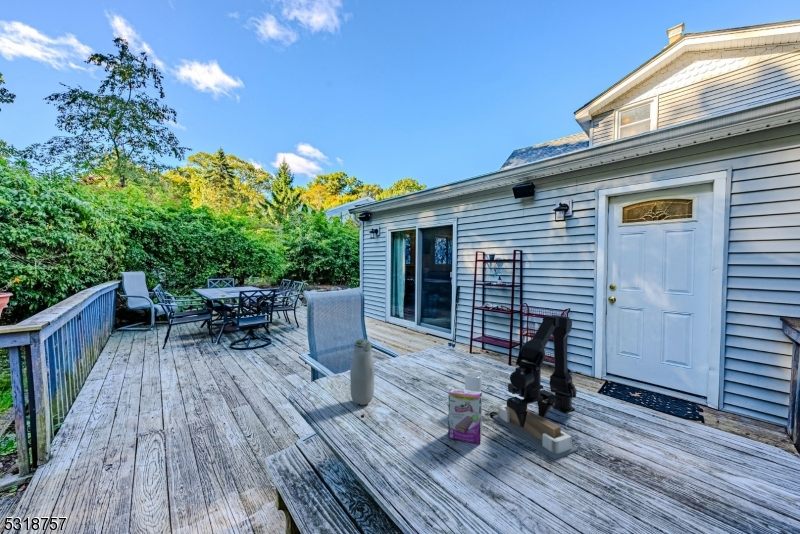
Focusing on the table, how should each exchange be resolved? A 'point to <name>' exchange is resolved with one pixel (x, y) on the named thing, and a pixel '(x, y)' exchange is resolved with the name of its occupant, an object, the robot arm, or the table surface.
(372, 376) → the grey bottle
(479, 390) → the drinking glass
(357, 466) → the table surface
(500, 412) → the end cap frame
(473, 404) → the candy bar box
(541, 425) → the wooden block
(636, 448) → the table surface
